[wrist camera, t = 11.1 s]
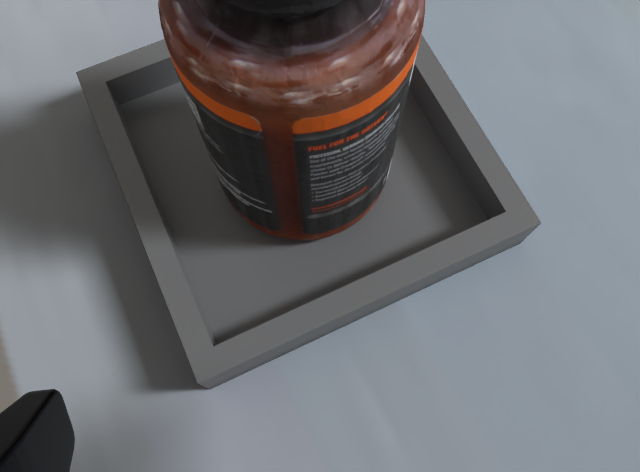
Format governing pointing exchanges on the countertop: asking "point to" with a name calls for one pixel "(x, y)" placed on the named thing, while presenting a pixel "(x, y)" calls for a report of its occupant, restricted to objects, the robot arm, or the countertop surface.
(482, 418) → the countertop surface
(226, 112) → the supplement bottle
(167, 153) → the grey square tray
